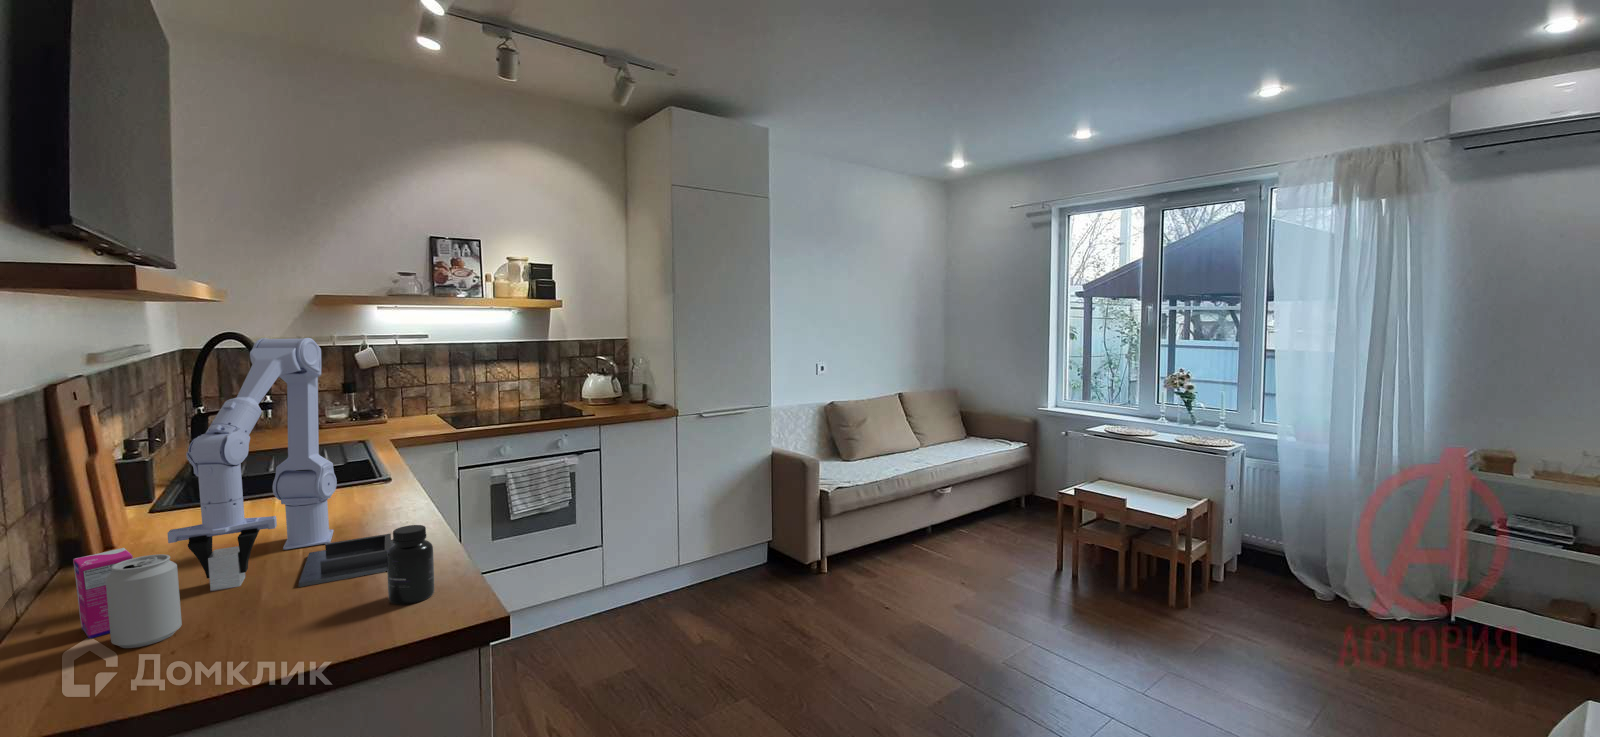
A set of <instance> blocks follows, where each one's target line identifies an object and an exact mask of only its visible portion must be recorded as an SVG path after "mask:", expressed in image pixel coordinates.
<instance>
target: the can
mask: <svg viewBox="0 0 1600 737" xmlns="http://www.w3.org/2000/svg"><path fill="white" fill-rule="evenodd" d="M111 570H113V571H112V572H111V573H110V574H109V575H108V576H107V578H106V579H105V580H106V592H107V603H108V614H109V625H110V633H109V635H110V642H111V644H112V645H115V646H119V648H123V649H132V648H133V649H134V648H140V647H141V648H142V647H146V646H150V645H153V644H156V643H158V642H159V643H160V642H162V641H164V640H166V639H168V638H170V637H172V636H173V635H174V634H175V633H176V632H177V631H178V630H179V629H180V628H181V627H182V624H183V623H182V622H183V621H182V610H181V609H182V608H181V598H180V597H181V595H180V586H179V585H180V584H179V583H180V582H179V572H178V564H177V563H176V562H174V561H172V560H171V556H170V555H169V554H164V553H163V554H162V553H161V554H159V553H158V554H149V555H141V556H138V557H133V558H132V559H129V560H125V561H122V562H119V563H117V564H115V565H113V566H112V567H111Z"/></svg>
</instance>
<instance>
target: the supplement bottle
mask: <svg viewBox="0 0 1600 737" xmlns="http://www.w3.org/2000/svg"><path fill="white" fill-rule="evenodd" d="M426 528H427V527H426V525H423V524H422V525H421V524H410V525H409V524H408V525H404V526H401V527H397V528H395V529H394V530H393V532H392V540H393V543H395V544H394V545H393V546H391V547H390V548H389V550H388V552H387V572H386V573H387V593H388V602H390V603H391V604H393V605H397V606H398V605H399V606H400V605H401V606H404V605H411V604H416V603H420V602H423V601H426V600H428V599H429V598H430V597H432V596H433V594H434V593H435V571H434V570H435V568H434V565H435V564H434V546H433V544H432V543H431V542H430V541H429V540H426V539H427V531H426V530H427V529H426Z"/></svg>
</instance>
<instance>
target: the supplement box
mask: <svg viewBox="0 0 1600 737" xmlns="http://www.w3.org/2000/svg"><path fill="white" fill-rule="evenodd" d="M132 558H134V557H133V554H132V553H131V552H129V551H128V550H127V549H126V548H125V547H121V548H117V549H112V550H108V551H104V552H100V553H95V554H90V555H86V556H81V557H76V558H73V559H72V561H73V568H74V577H75V585H76V593H77V594H76V595H77V602H78V612H79V618H80V619H79V621H80V627H81V629H82V631H84V633H85V634H86V636H87V638H88V639H89V638H91V639H94V638H98V637H101V636H105V635H110V625H109V614H108V603H107V592H106V580H105V579H106V578H107V576H108V575H109V574H110V573H111V572H112V571H113V570H111V567H112V566H113V565H115V564H117V563H119V562H122V561H125V560H129V559H132Z"/></svg>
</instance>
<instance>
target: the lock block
mask: <svg viewBox="0 0 1600 737" xmlns="http://www.w3.org/2000/svg"><path fill="white" fill-rule="evenodd" d="M208 565H209V578H208V579H209V586H210V587H209V588H210V589H209V590H210V592H216V591H219V590H220V591H221V590H227V589H232V588H238V587H241V586H242V584H243V582H244V581H245V579H246V572H244V573H241V569H240V550H239V545H238V546H231V547H224V548H217V549H214V550H212V554H211V555H210V556H209V558H208Z"/></svg>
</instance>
